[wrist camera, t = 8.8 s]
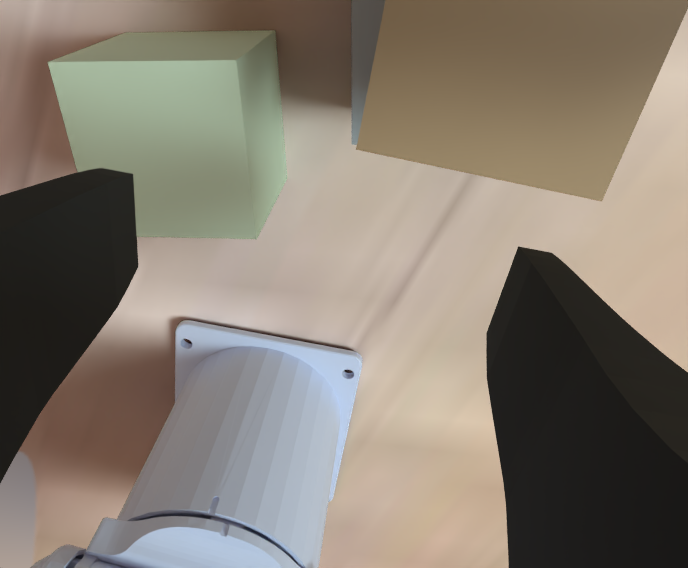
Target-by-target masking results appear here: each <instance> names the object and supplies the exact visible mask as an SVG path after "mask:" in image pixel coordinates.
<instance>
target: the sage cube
mask: <svg viewBox="0 0 688 568" xmlns="http://www.w3.org/2000/svg"><path fill="white" fill-rule="evenodd" d="M48 65H49V69H50V73H51V76H52V80H53V84H54V87H55V91H56V95H57V99H58V102H59V106H60V110H61V113H62V117H63V121H64V124H65V128H66V132H67V136H68V139H69V143H70V147H71V150H72V154H73V158H74V161H75V165H76V169H77V172H82V171H86V170H90V169H97V168H105V169H110V170H115V171H121V172H126V173H131V174H133V180H134V198H135V217H136V235H137V237H182V238H230V239H257V238H258V236H259V234H260V232H261V230H262V228H263V226H264V224H265V222H266V220H267V218H268V216H269V214H270V212H271V210H272V208H273V206H274V204H275V202H276V200H277V198H278V196H279V194H280V192H281V190H282V188H283V186H284V184H285V182H286V180H287V169H286V157H285V144H284V132H283V120H282V107H281V95H280V82H279V70H278V58H277V45H276V33H275V30H263V31H194V32H126V33H123V34H121V35H118V36H115V37H113V38H110V39H107V40H105V41H102V42H99V43H97V44H94V45H91V46H89V47H86V48H83V49H81V50H78V51H75V52H73V53H70V54H68V55H65V56H62V57H60V58H57V59H54V60H52V61H49V62H48Z"/></svg>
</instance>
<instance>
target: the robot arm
mask: <svg viewBox="0 0 688 568" xmlns="http://www.w3.org/2000/svg"><path fill="white" fill-rule="evenodd" d="M137 268H138V253H137V235H136V217H135V198H134V180H133V174H131V173H126V172H121V171H115V170H110V169H105V168H97V169H90V170H86V171H82V172H78V173H74V174H70V175H67V176H64V177H60V178H57V179H53V180H50V181H47V182H44V183H40V184H37V185H34V186H31V187H27V188H24V189H21V190H18V191H14V192H11V193H8V194H5V195H1V196H0V483H1V481H2V479H3V477H4V475H5V474H6V472H7V470H8V468H9V466H10V464H11V462H12V461H13V459H14V457H15V455H16V454H17V452H18V450H19V448H20V447H21V445H22V443H23V442H24V440H25V438H26V436H27V435H28V433H29V431H30V429H31V428H32V426H33V424H34V423H35V421H36V419H37V417H38V416H39V414H40V413H41V411H42V410H43V408H44V407H45V405H46V404H47V402H48V401H49V399H50V398H51V396H52V395H53V393H54V392H55V391H56V389H57V388H58V387H59V385H60V384H61V383H62V381H63V380H64V379H65V377H66V376H67V375H68V373H69V372H70V371H71V369H72V368H73V367H74V365H75V364H76V363H77V361H78V360H79V359H80V357H81V356H82V355H83V353H84V352H85V351H86V349H87V348H88V347H89V345H90V344H91V343H92V341H93V340H94V339H95V337H96V336H97V334H98V333H99V332H100V330H101V329H102V328H103V326H104V325H105V324H106V322H107V321H108V319H109V318H110V317H111V315H112V314H113V312H114V311H115V310H116V308H117V307H118V305H119V303H120V301H121V299H122V298H123V296H124V294H125V292H126V290H127V288H128V286H129V284H130V282H131V280H132V278H133V276H134V274H135V272H136V270H137ZM184 339H188V340H190V341H191V342H192V343H187V342H186V341H185V340H184ZM361 368H362V357H361V355H360V354H358V353H357V352H354V351H350V350H345V349H340V348H334V347H329V346H324V345H318V344H313V343H308V342H302V341H297V340H292V339H286V338H281V337H276V336H270V335H265V334H260V333H254V332H249V331H244V330H238V329H233V328H228V327H222V326H217V325H212V324H206V323H201V322H196V321H190V320H184V321H181V322H180V323H179V324H178V326H177V328H176V331H175V404H174V406H173V408H172V410H171V412H170V414H169V416H168V418H167V420H166V422H165V424H164V426H163V428H162V430H161V432H160V434H159V436H158V438H157V440H156V442H155V444H154V446H153V448H152V450H151V452H150V454H149V456H148V458H147V460H146V462H145V464H144V466H143V468H142V470H141V472H140V474H139V476H138V478H137V480H136V482H135V484H134V486H133V488H132V490H131V492H130V494H129V496H128V498H127V500H126V502H125V504H124V506H123V508H122V510H121V512H120V514H119V516H118V518H117V520H116V519H112V518H103V519H102V521H101V523H100V525H99V527H98V529H97V531H96V533H95V535H94V537H93V538H92V540H91V542H90V544H89V546H88V548H87V550H86V549H84V548H80V547H77V546H73V545H70V544H66V545H64V546H61V547H60V548H58V549H57V550H55V551H54V552H53V553H52V554H50V555H49V556H47V557H45V558H43V559H41V560H40V561H38V562H36V563H35V564H34V565H33V566H31V567H30V568H319V561H320V555H321V548H322V541H323V535H324V528H325V521H326V515H327V508H328V502H329V501H331V500H332V499H333V495H334V491H335V486H336V482H337V477H338V473H339V468H340V463H341V459H342V454H343V450H344V445H345V441H346V436H347V432H348V427H349V423H350V418H351V413H352V409H353V404H354V400H355V395H356V391H357V386H358V382H359V377H360V373H361ZM347 369H349V370H352V371H353V372H352V373H347V372H345V371H344V370H347ZM487 381H488V388H489V395H490V401H491V408H492V414H493V420H494V426H495V432H496V439H497V445H498V451H499V457H500V463H501V469H502V475H503V482H504V491H505V499H506V513H507V534H508V555H509V568H688V372H686V371H685V370H684V369H682V368H681V367H680V366H678V365H677V364H676V363H674V362H673V361H672V360H671V359H669V358H668V357H667V356H665V355H664V354H663V353H662V352H661V351H659V350H658V349H657V348H656V347H655V346H653V345H652V344H651V343H650V342H649V341H648V340H646V339H645V338H644V337H643V336H642V335H640V334H639V333H638V332H637V331H636V330H635V329H634V328H632V327H631V326H630V325H629V324H628V323H627V322H626V321H625V320H623V319H622V318H621V317H620V316H619V315H618V314H617V313H616V312H615V311H614V310H613V309H612V308H611V307H610V306H608V305H607V304H606V303H605V302H604V301H603V300H602V299H601V298H600V297H599V296H598V295H597V294H596V293H595V292H594V291H593V290H592V289H591V288H590V287H589V286H588V285H587V284H586V283H585V282H584V281H583V280H581V279H580V278H579V277H578V276H577V275H576V274H575V273H574V272H573V271H572V270H571V269H570V268H569V267H568V266H567V265H566V264H565V263H563V262H562V261H561V260H560V259H559V258H558V257H556V256H555V255H554V254H552V253H549V252H544V251H539V250H534V249H528V248H523V247H518V249H517V252H516V255H515V257H514V260H513V263H512V265H511V268H510V271H509V274H508V276H507V279H506V282H505V284H504V287H503V290H502V293H501V295H500V298H499V301H498V304H497V306H496V309H495V312H494V314H493V317H492V320H491V323H490V325H489V328H488V331H487Z"/></svg>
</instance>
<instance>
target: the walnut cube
mask: <svg viewBox="0 0 688 568" xmlns="http://www.w3.org/2000/svg"><path fill="white" fill-rule="evenodd" d="M687 9H688V0H385V5H384V10H383V15H382V20H381V25H380V30H379V35H378V40H377V46H376V51H375V56H374V61H373V66H372V71H371V76H370V81H369V86H368V91H367V96H366V102H365V107H364V112H363V117H362V122H361V127H360V132H359V137H358V142H357V147H356V150H361V151H366V152H371V153H375V154H380V155H385V156H390V157H394V158H399V159H404V160H408V161H413V162H418V163H423V164H427V165H432V166H437V167H442V168H446V169H451V170H456V171H460V172H465V173H470V174H475V175H479V176H484V177H489V178H494V179H498V180H503V181H508V182H513V183H517V184H522V185H527V186H531V187H536V188H541V189H546V190H550V191H555V192H560V193H565V194H569V195H574V196H579V197H584V198H588V199H593V200H598V201H602V200H603V198H604V195H605V193H606V191H607V189H608V186H609V184H610V182H611V180H612V177H613V175H614V173H615V171H616V168H617V166H618V164H619V162H620V159H621V157H622V155H623V153H624V150H625V148H626V146H627V144H628V141H629V139H630V137H631V135H632V132H633V130H634V128H635V126H636V123H637V121H638V119H639V117H640V114H641V112H642V110H643V108H644V105H645V103H646V101H647V99H648V96H649V94H650V92H651V90H652V87H653V85H654V83H655V81H656V78H657V76H658V74H659V72H660V69H661V67H662V65H663V63H664V60H665V58H666V56H667V54H668V51H669V49H670V47H671V45H672V42H673V40H674V38H675V36H676V33H677V31H678V29H679V27H680V24H681V22H682V20H683V18H684V15H685V13H686V11H687Z"/></svg>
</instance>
